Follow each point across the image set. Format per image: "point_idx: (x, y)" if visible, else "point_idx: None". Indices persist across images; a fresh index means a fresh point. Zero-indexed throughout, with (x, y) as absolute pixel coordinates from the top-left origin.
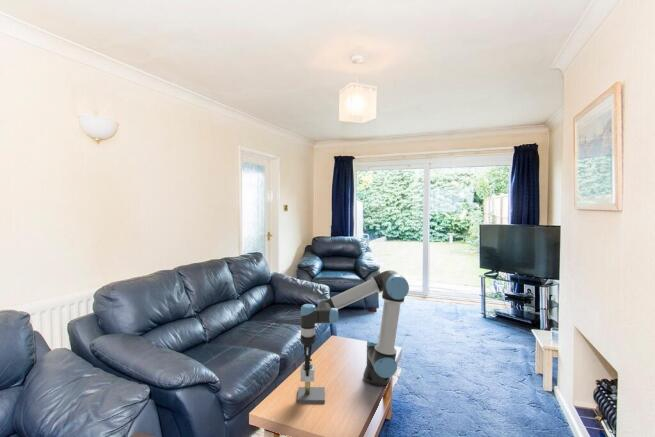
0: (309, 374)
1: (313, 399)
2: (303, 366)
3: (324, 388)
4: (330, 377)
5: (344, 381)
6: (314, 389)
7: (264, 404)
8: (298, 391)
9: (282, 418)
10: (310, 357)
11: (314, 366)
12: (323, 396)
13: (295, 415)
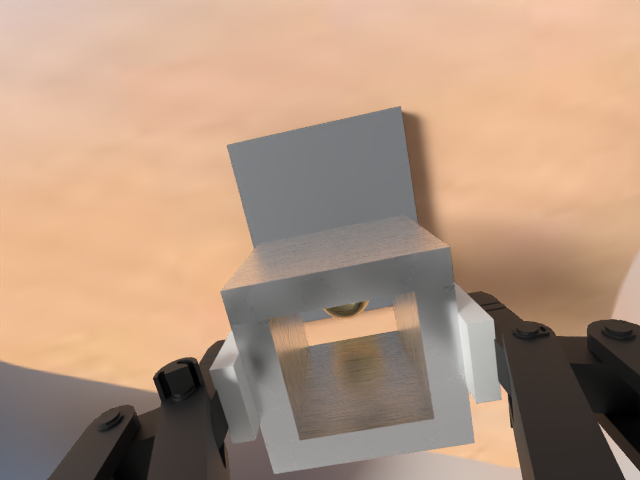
0: (460, 292)
1: (405, 193)
2: (316, 422)
3: (246, 142)
4: (48, 135)
5: (62, 3)
6: (278, 215)
7: (456, 453)
8: (328, 316)
9: (576, 330)
10: (121, 417)
11: (281, 272)
12: (355, 126)
13: (545, 268)
